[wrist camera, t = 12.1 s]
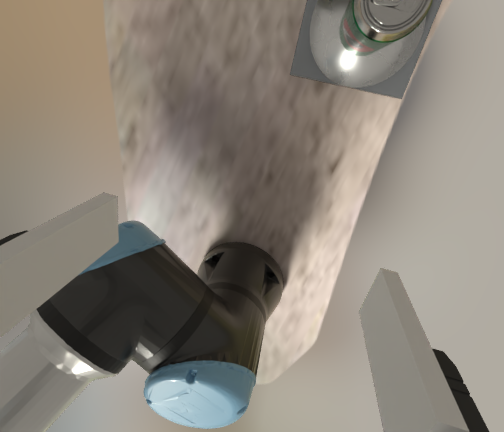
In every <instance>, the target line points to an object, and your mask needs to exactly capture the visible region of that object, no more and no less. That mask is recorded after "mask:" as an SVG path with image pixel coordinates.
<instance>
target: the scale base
mask: <svg viewBox="0 0 504 432" xmlns="http://www.w3.org/2000/svg"><path fill="white" fill-rule="evenodd" d="M317 1H318V0H307V3H306V7H305V12H304V16H303V20H302V25H301V29H300V33H299V38H298V42H297V46H296V51H295V55H294V59H293V64H292V68H291V72H290V75H293V76H298V77H302V78H307V79H311V80H316V81H320V82H325V83H330V84H334V85H339V84H337V83H335V82H333V81H332V80H330V79H329V78H327V77H326V76H325V75H324V74H323V73H322V71H321V70H320V69H319V67H318V66H317V64H316V62H315V60H314V58H313V54H312V51H311V45H310V24H311V19H312V15H313V11H314V8H315V6H316V4H317ZM441 1H442V0H433V1H432V4H431V7H430V9H429V11H428V13H427V15H426V22H425V26H424V31H423V34H422V36H421V39H420V41H419V44H418V46H417V48H416V49H415V51H414V53H413V54H412V56H411V57H410V58H409V60H408V61H407V62H406V63H405V64H404V66H403V67H402V68H401V69H400V70H398V71H397V72H396V73H395V74H394V75H392V76H391V77H389V78H388V79H386V80H384V81H382V82H380V83H377V84H375V85H371V86H368V87H361V88H353V87H348V88H352V89H357V90H361V91H366V92H371V93H375V94H380V95H384V96H389V97H393V98H399V99H402V97H403V95H404V92H405V90H406V87H407V85H408V82H409V80H410V77H411V75H412V73H413V70H414V68H415V65H416V63H417V60H418V58H419V55H420V53H421V50H422V48H423V45H424V43H425V41H426V38H427V36H428V33H429V31H430V28H431V26H432V23H433V21H434V18H435V16H436V14H437V11H438V9H439V6H440V4H441ZM339 86H342V85H339ZM343 87H346V86H343Z"/></svg>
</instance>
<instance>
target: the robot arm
mask: <svg viewBox="0 0 504 432" xmlns="http://www.w3.org/2000/svg"><path fill="white" fill-rule="evenodd" d="M165 242H166V241H165V240H163V239H160V238H159V237H158V236H157V235H156V234H154V233H153V232H152V231H151V230H150V229H149V228H148V227H147V226H145V225H144V224H143V223H141V222H138V221H127V222H124V223H121V224H119V225H118V196H115V195H111V194H107V193H102V194H100V195H98V196H96V197H94V198H92V199H90V200H88V201H86V202H84V203H82V204H80V205H78V206H76V207H74V208H72V209H70V210H69V211H67V212H65V213H63V214H61V215H59V216H57V217H55V218H53V219H51V220H49V221H47V222H45V223H43V224H41V225H40V226H38V227H36V228H34V229H32V230H30V231H23V232H20V233H16V234H13V235H9V236H8V237H5V238H3V239H1V240H0V338H1V337H2V336H4V335H5V334H6V333H7V332H9V331H10V330H11V329H12V328H14V327H15V326H16V325H17V324H18V323H20V322H21V321H22V320H23V319H25V318H26V317H27V316H28V315H29V314H30V323H29V325H28V328H26V329H25V330H24V331H23V332H22V333H21V334H20V335H18V336H17V337H16V338H15V339H14V340H13V341H12V342H11V343H9V344H8V345H7V346H6V347H5V348H4V349H3V350H2V351H0V432H45V431H46V430H47V429H48V428H49V427H50V426H51V425H52V424H53V423H54V422H55V421H56V420H57V419H58V417H59V416H60V415H61V414H62V413H63V412H64V411H65V410H66V409H67V408H68V407H69V406H70V404H71V403H72V402H73V401H74V400H75V399H76V398H77V397H78V395H80V394H81V393H82V392H83V390H84V389H85V388H86V387H87V386H88V385H89V384H90V383H91V382H92V381H94V380H96V379H102V378H108V377H114V376H116V375H117V374H118V373H119V372H120V371H121V370H122V369H123V368H124V367H125V366H126V364H127V363H128V362H129V361H130V360H133V361H135V362H136V363H137V364H138V365H140V366H141V367H142V368H143V369H144V370H146V371H147V372H148V373H149V374H150V375H149V376H148V377H147V379H146V381H145V388H144V396H145V398H146V401H147V403H148V405H149V406H150V407H151V408H152V409H153V410H154V411H155V412H156V413H157V414H159V415H161V416H162V417H164V418H166V419H168V420H170V421H172V422H175V423H178V424H181V425H184V426H188V427H196V428H204V429H209V428H219V427H224V426H227V425H229V424H232V423H233V422H235V421H237V420H238V419H239V418H241V416H242V415H243V414H244V413H245V411H246V409H247V407H248V404H249V401H250V397H251V393H252V389H253V387H254V386H255V383H256V374H257V369H258V363H259V357H260V352H261V346H262V340H263V335H264V329H265V324H266V321H267V320H268V318H269V317H270V315H271V314H272V312H273V311H274V310H275V308H276V307H277V305H278V304H279V302H280V299H281V296H282V290H283V276H282V273H281V270H280V268H279V266H278V264H277V263H276V262H275V260H274V259H273V258H272V257H271V256H270V255H269V254H267V253H266V252H265V251H263V250H261V249H259V248H257V247H255V246H253V245H250V244H245V243H226V244H222V245H220V246H217V247H216V248H214V249H212V250H211V251H210V252H209V253H208V254H207V255H206V257H205V258H204V260H203V262H202V263H201V265H200V267H199V270H198V274H197V275H196V274H195V273H194V272H193V271H192V270H191V269H190V268H189V267H188V266H187V265H186V264H185V263H184V262H183V261H182V260H181V259H180V258H179V257H178V256H177V255H176V254H175V253H174V252H173V251H172V250H171V249H170V248H169V247H168V246H167V245H166V244H165ZM359 314H360V319H361V324H362V328H363V333H364V338H365V343H366V348H367V353H368V358H369V363H370V367H371V372H372V377H373V382H374V387H375V392H376V397H377V402H378V407H379V412H380V416H381V421H382V426H383V431H384V432H489V430H488V428H487V426H486V424H485V423H484V421H483V418H482V417H481V415H480V413H479V411H478V409H477V407H476V405H475V403H474V401H473V399H472V397H470V393H469V391H468V389H467V387H466V385H465V384H463V379H462V377H461V375H460V373H459V371H458V369H457V367H456V366H455V365H454V364H453V362H452V361H451V360H450V359H449V358H448V356H447V355H446V354H445V353H444V352H443V351H439V350H436V349H432V348H431V346H430V343H429V341H428V339H427V337H426V334H425V332H424V330H423V328H422V326H421V323H420V321H419V319H418V317H417V315H416V312H415V310H414V308H413V306H412V304H411V301H410V299H409V297H408V295H407V292H406V290H405V288H404V286H403V284H402V282H401V279H400V277H399V275H398V273H397V272H393V271H389V270H386V269H383V268H381V269H380V270H379V272H378V274H377V276H376V279H375V280H374V283H373V284H372V286H371V288H370V290H369V292H368V294H367V296H366V298H365V300H364V302H363V304H362V307H361V308H360V310H359Z"/></svg>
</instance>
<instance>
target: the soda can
mask: <svg viewBox="0 0 504 432" xmlns="http://www.w3.org/2000/svg"><path fill="white" fill-rule="evenodd" d="M432 1H433V0H350V1H349V3H348V6H347V8H346V10H345V12H344V14H343V17H342V19H341V23H340V29H339V34H340V40H341V43H342V44H343V46H344V48H345V49H346V50H347V51H348V52H350V53H351V54H353V55H357V56H366V55H370V54H373V53H374V52H376V51H378V50H380V49H382V48H384V47H386V46H388V45H390V44H392V43H394V42H396V41H398V40H400V39H402V38H404V37H405V36H407V35H408V34H410V33H411V32H412V31H414V30H415V29H416V28H417V27H418V26H419V25H420V23H421V22H422V21H423V19H424V18H425V16H426V15H427V13H428V11H429V9H430V7H431V4H432Z"/></svg>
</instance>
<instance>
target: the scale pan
mask: <svg viewBox="0 0 504 432" xmlns="http://www.w3.org/2000/svg"><path fill="white" fill-rule="evenodd" d="M349 1H350V0H318V1H317V4H316V6H315V8H314V11H313V15H312V19H311V24H310V45H311V51H312V54H313V58H314V60H315V62H316V64H317V66H318V67H319V69H320V70H321V71H322V73H323V74H324V75H325V76H326V77H327V78H329V79H330V80H332V81H333V82H335V83H337V84H339V85H342V86H346V87H353V88H361V87H368V86H371V85H375V84H377V83H380V82H382V81H384V80H386V79H388V78H389V77H391V76H392V75H394V74H395V73H396V72H397V71H398V70H400V69H401V68H402V67H403V66H404V64H405V63H406V62H407V61H408V60H409V58H410V57H411V56H412V54H413V53H414V51H415V49H416V48H417V46H418V44H419V41H420V39H421V36H422V34H423V31H424V26H425V22H426V16H425V18H424V19H423V21H422V22H421V23H420V25H419V26H418V27H417V28H416V29H415V30H414V31H412V32H411V33H410V34H408V35H407V36H405V37H404V38H402V39H400V40H398V41H396V42H394V43H392V44H390V45H388V46H386V47H384V48H382V49H380V50H378V51H376V52H374V53H373V54H370V55H366V56H357V55H353V54H351V53H350V52H348V51H347V50H346V49H345V48H344V46H343V44H342V43H341V40H340V34H339V29H340V23H341V19H342V17H343V14H344V12H345V10H346V8H347V6H348V3H349Z"/></svg>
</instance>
